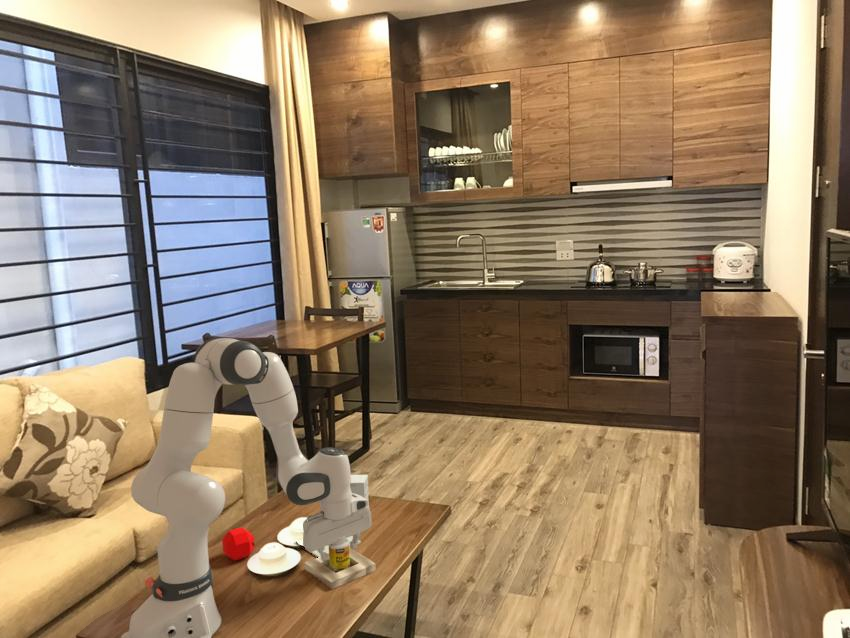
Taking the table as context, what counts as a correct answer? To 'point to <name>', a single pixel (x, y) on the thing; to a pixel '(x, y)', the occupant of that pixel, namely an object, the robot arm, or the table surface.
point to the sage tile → (328, 547)
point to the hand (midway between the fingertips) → (339, 554)
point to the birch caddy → (335, 580)
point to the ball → (238, 543)
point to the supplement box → (360, 485)
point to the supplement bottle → (339, 555)
